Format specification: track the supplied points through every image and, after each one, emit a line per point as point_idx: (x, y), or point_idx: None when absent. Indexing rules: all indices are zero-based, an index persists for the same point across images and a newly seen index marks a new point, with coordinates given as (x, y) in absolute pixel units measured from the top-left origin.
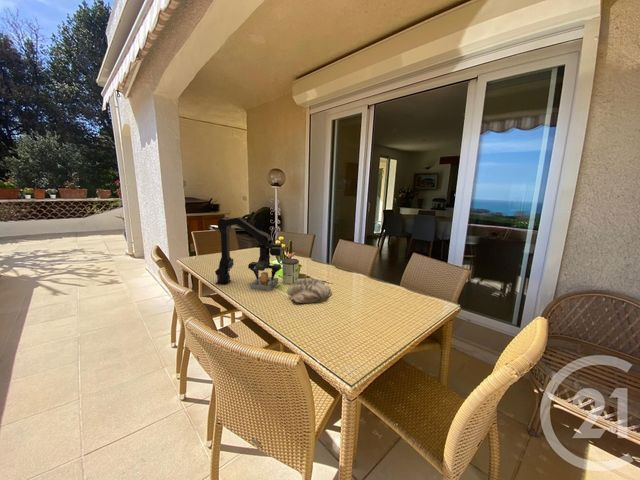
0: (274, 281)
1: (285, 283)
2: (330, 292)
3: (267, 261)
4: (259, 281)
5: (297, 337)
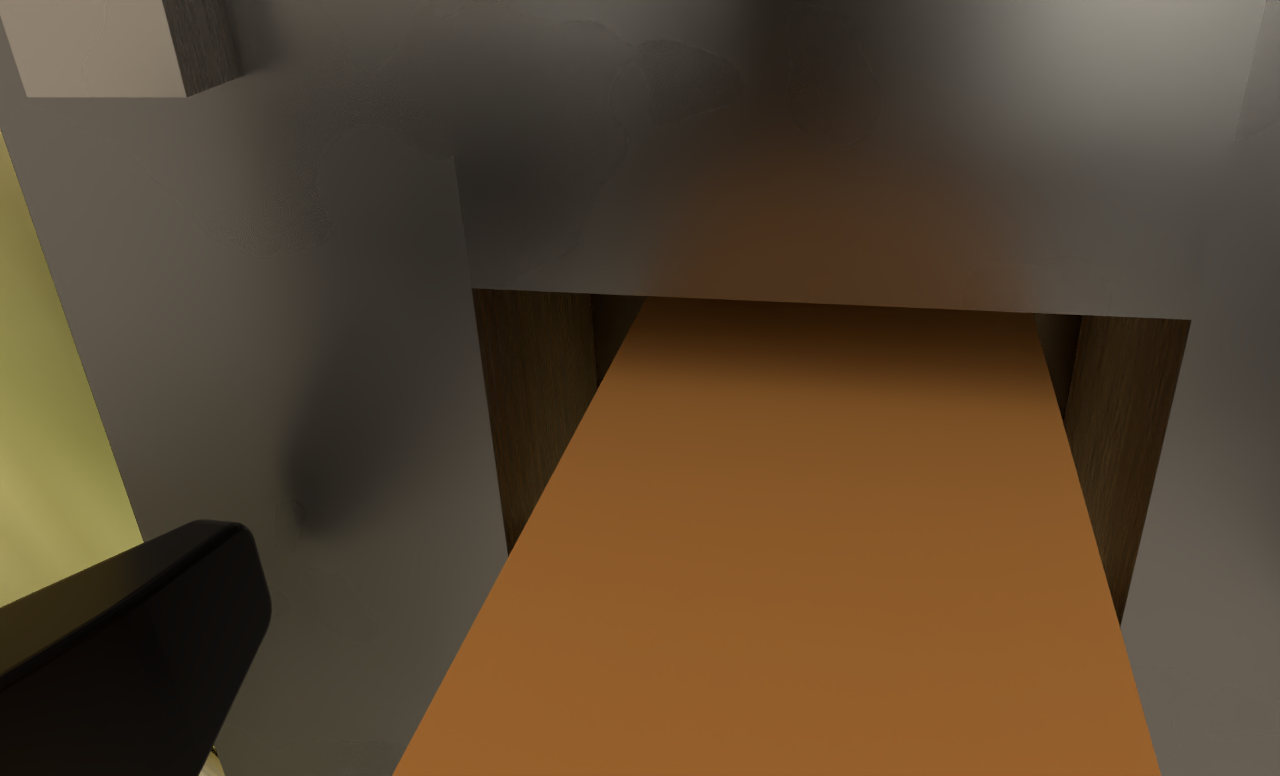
0: None
1: None
2: None
3: None
4: (1216, 408)
5: None
